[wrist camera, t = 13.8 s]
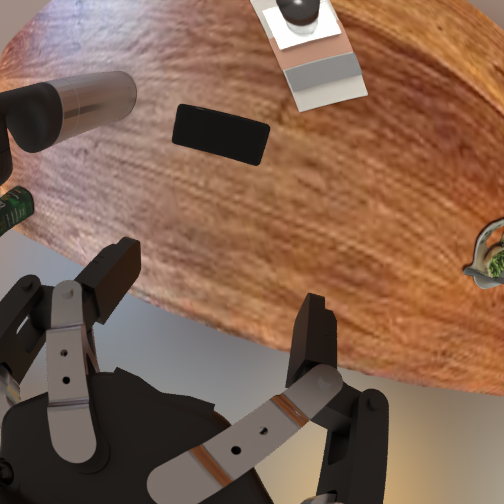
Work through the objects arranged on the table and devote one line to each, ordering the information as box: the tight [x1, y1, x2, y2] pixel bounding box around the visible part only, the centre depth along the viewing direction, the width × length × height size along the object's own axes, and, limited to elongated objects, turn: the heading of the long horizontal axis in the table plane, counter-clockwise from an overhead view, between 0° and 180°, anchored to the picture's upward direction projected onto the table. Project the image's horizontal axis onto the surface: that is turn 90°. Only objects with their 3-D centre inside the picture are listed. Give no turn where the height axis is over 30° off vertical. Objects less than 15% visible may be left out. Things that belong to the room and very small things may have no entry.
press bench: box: [250, 0, 368, 112], centre depth 27 cm, size 26×10×6 cm, turn 22°
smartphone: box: [172, 104, 270, 166], centre depth 41 cm, size 7×1×15 cm
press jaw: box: [262, 0, 341, 52], centre depth 23 cm, size 6×8×13 cm
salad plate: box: [463, 219, 504, 289], centre depth 39 cm, size 19×18×5 cm
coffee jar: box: [0, 186, 33, 237], centre depth 50 cm, size 10×8×19 cm
